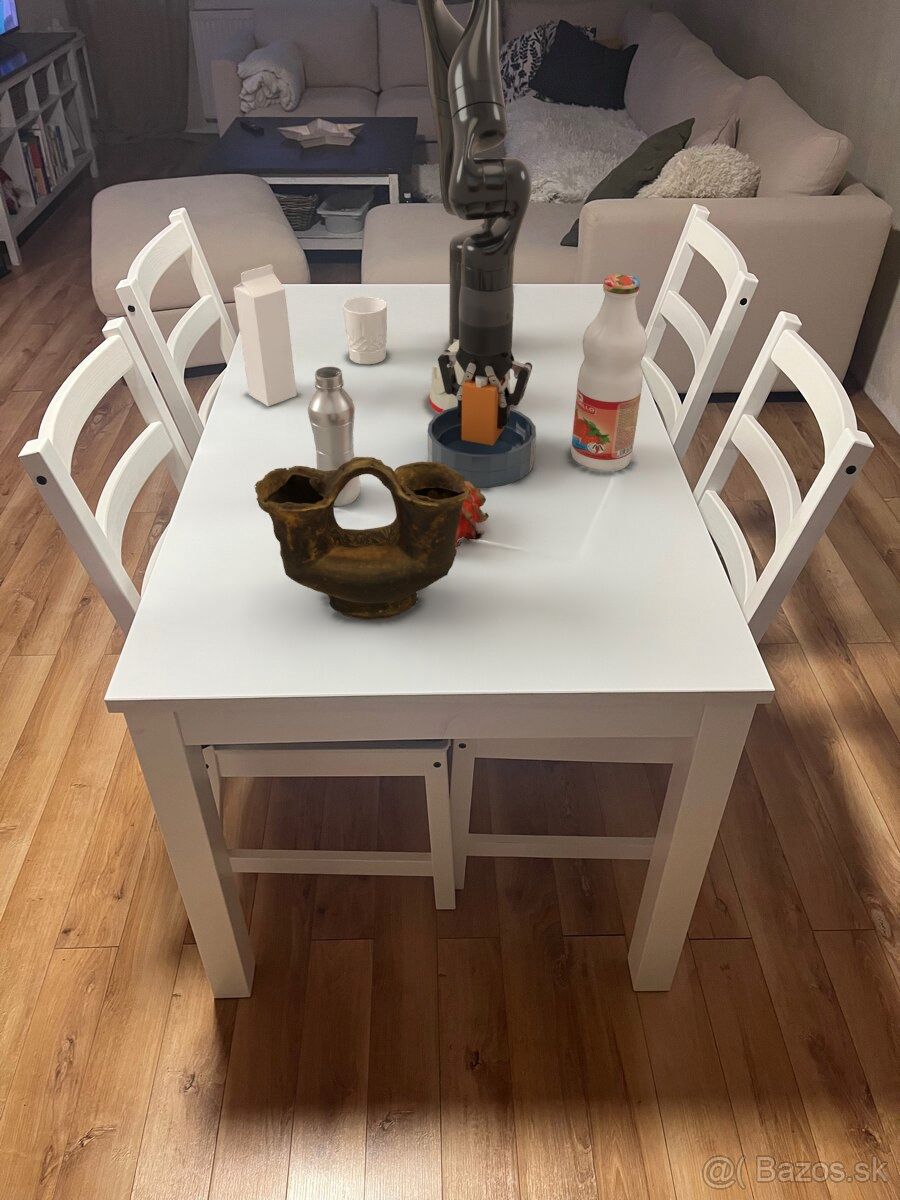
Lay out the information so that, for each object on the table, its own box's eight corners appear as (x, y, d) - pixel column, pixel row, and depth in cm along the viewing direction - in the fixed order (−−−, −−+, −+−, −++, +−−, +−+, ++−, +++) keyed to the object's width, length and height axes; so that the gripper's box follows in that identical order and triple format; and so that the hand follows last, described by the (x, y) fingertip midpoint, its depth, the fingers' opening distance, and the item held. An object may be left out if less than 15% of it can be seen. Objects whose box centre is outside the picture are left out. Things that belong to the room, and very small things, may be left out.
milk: (297, 396, 162) (284, 268, 148) (267, 407, 159) (251, 278, 145) (276, 384, 165) (262, 258, 151) (247, 394, 162) (230, 267, 148)
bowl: (449, 430, 153) (449, 396, 149) (545, 448, 148) (548, 413, 144) (412, 479, 141) (411, 444, 137) (515, 500, 136) (517, 464, 133)
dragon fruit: (471, 520, 135) (450, 578, 127) (423, 487, 133) (399, 544, 125) (505, 488, 129) (486, 547, 121) (456, 453, 127) (433, 511, 119)
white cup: (397, 354, 175) (395, 302, 169) (372, 370, 170) (369, 316, 164) (363, 344, 178) (360, 293, 172) (337, 359, 173) (333, 307, 167)
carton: (473, 423, 144) (474, 362, 138) (504, 428, 143) (506, 367, 137) (461, 440, 140) (462, 378, 134) (493, 445, 139) (495, 384, 133)
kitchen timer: (449, 430, 153) (449, 342, 143) (417, 394, 162) (415, 310, 153) (525, 413, 157) (530, 328, 148) (489, 380, 167) (491, 297, 157)
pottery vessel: (268, 631, 114) (247, 492, 101) (272, 576, 122) (253, 442, 110) (473, 618, 116) (477, 480, 103) (463, 565, 124) (465, 432, 112)
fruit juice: (639, 471, 143) (666, 290, 125) (579, 476, 142) (598, 295, 124) (620, 441, 150) (643, 266, 132) (563, 446, 149) (579, 270, 131)
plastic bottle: (368, 492, 138) (361, 365, 125) (350, 516, 133) (340, 387, 120) (328, 484, 140) (317, 358, 127) (309, 508, 135) (295, 379, 122)
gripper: (543, 310, 130) (536, 420, 141) (446, 297, 134) (446, 404, 145) (528, 332, 125) (521, 443, 136) (428, 317, 129) (429, 426, 140)
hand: (483, 422), depth 140 cm, fingers closed on carton, 5 cm apart
